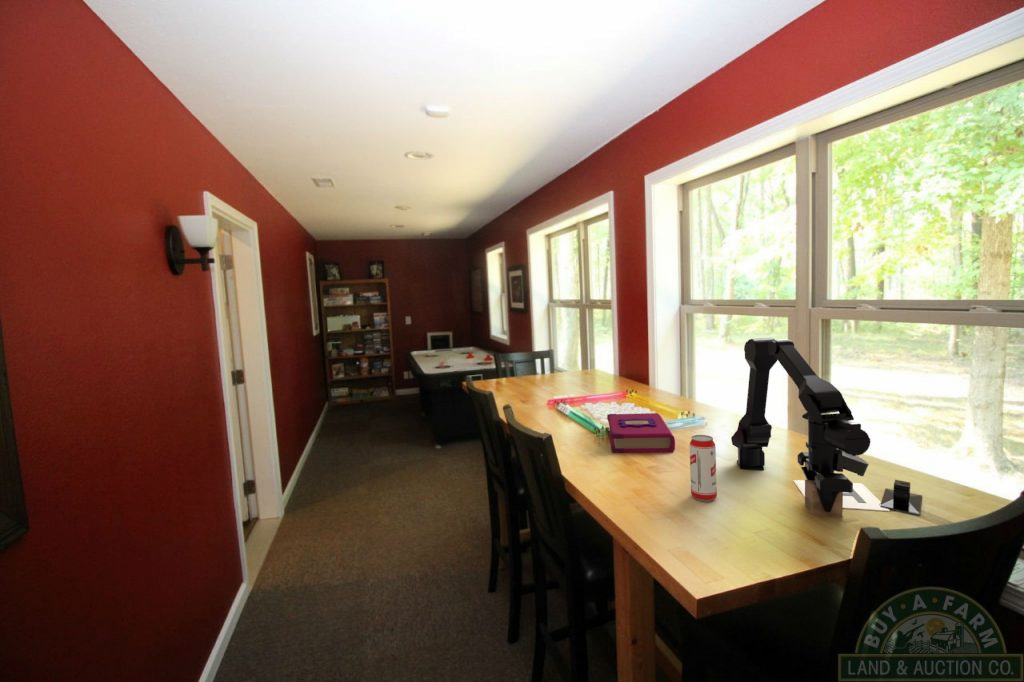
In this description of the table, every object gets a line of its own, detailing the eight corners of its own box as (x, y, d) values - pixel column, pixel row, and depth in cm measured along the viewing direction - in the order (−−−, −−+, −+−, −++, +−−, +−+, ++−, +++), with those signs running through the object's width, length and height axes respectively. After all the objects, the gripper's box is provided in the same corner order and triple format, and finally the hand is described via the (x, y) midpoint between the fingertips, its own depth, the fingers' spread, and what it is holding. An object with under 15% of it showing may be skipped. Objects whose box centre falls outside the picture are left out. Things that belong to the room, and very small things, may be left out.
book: (661, 430, 183) (661, 411, 182) (675, 454, 156) (674, 431, 155) (607, 431, 186) (606, 412, 186) (611, 454, 159) (610, 433, 158)
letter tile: (810, 506, 112) (810, 504, 112) (792, 480, 128) (792, 479, 128) (890, 511, 108) (890, 510, 107) (861, 484, 123) (861, 483, 123)
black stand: (919, 515, 105) (920, 496, 104) (878, 507, 110) (879, 488, 109) (922, 496, 114) (922, 478, 113) (884, 489, 119) (884, 471, 118)
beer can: (715, 493, 123) (714, 434, 121) (718, 503, 117) (716, 442, 115) (690, 491, 125) (688, 433, 123) (691, 501, 119) (689, 440, 118)
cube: (812, 515, 108) (812, 490, 107) (804, 503, 114) (804, 479, 113) (842, 517, 106) (842, 492, 105) (833, 504, 112) (833, 481, 111)
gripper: (881, 456, 97) (881, 527, 98) (847, 430, 115) (848, 491, 116) (820, 454, 101) (820, 523, 102) (796, 429, 118) (797, 488, 120)
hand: (823, 505), depth 110 cm, fingers closed on cube, 6 cm apart
